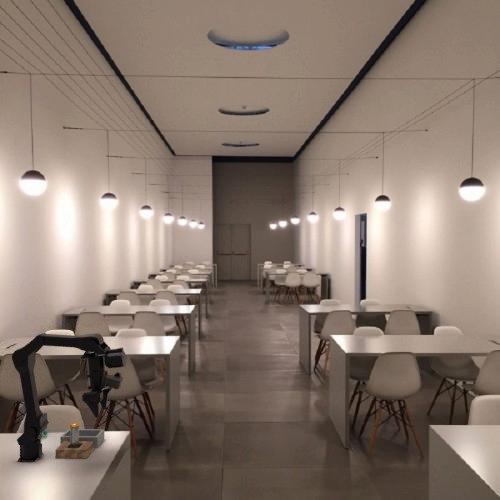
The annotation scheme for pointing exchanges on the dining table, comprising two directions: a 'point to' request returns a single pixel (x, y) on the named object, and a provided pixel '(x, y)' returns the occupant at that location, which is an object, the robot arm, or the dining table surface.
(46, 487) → the dining table surface
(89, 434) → the tray
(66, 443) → the wooden socket block
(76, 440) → the stop pin
